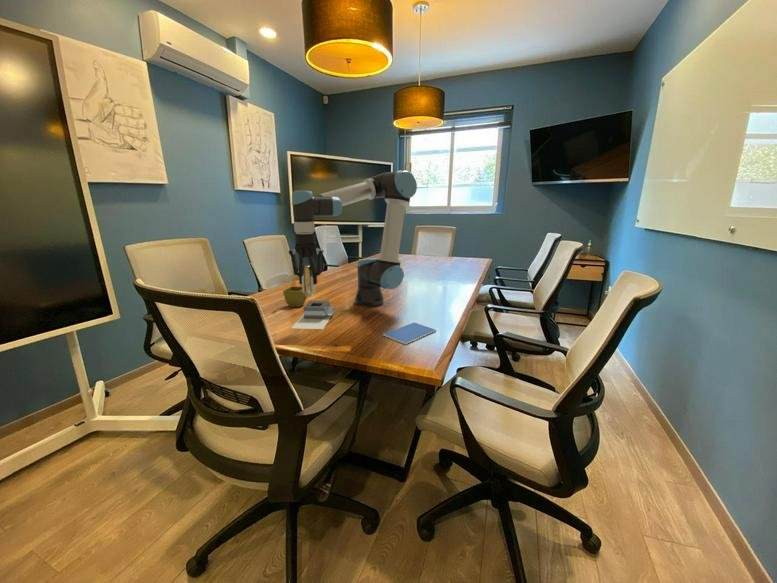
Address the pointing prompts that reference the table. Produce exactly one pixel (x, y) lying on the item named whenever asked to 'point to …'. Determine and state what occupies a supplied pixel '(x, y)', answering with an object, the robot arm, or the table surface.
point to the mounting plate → (311, 323)
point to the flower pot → (294, 296)
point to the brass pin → (307, 280)
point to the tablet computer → (409, 333)
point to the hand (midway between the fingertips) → (309, 291)
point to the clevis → (317, 309)
